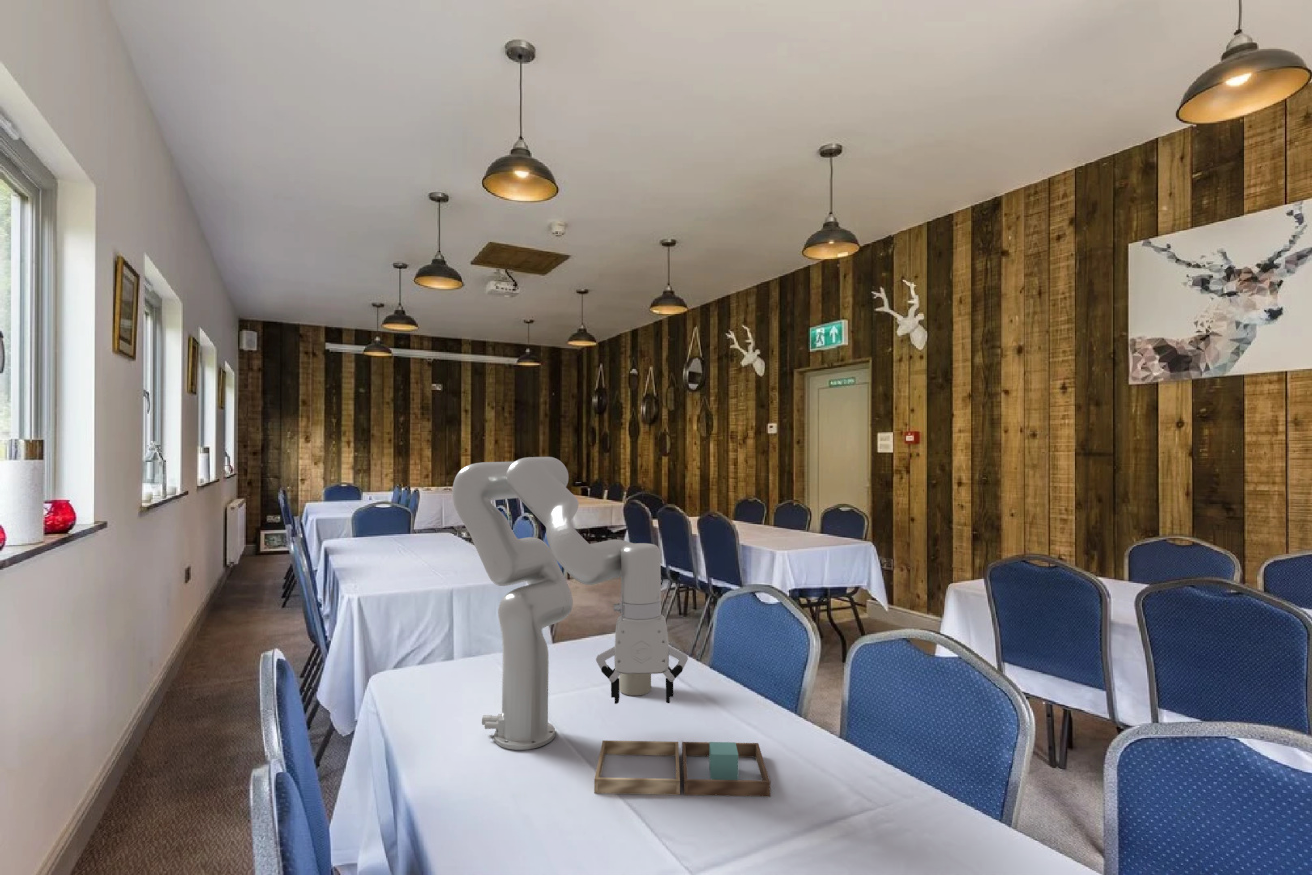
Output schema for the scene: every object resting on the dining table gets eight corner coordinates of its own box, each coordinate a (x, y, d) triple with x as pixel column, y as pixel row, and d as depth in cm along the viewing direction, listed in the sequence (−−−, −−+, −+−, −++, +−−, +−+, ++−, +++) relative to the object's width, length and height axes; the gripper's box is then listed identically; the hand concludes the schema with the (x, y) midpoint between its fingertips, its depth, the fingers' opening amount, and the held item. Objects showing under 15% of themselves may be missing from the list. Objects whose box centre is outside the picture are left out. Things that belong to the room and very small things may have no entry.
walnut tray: (684, 794, 117) (684, 780, 117) (682, 754, 132) (682, 741, 132) (770, 796, 117) (770, 782, 117) (758, 755, 132) (758, 743, 132)
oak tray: (594, 793, 117) (594, 779, 117) (602, 752, 132) (602, 740, 132) (679, 794, 117) (679, 780, 117) (678, 754, 132) (678, 741, 132)
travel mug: (656, 688, 167) (657, 617, 167) (639, 699, 160) (640, 624, 160) (631, 682, 171) (631, 613, 171) (612, 692, 164) (613, 619, 165)
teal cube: (711, 781, 122) (711, 754, 122) (709, 767, 127) (709, 741, 127) (738, 781, 122) (738, 754, 122) (735, 768, 127) (735, 742, 127)
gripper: (593, 615, 121) (594, 709, 121) (687, 614, 121) (689, 708, 120) (597, 605, 129) (598, 693, 128) (686, 604, 128) (687, 693, 128)
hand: (642, 700), depth 124 cm, fingers open, 9 cm apart
